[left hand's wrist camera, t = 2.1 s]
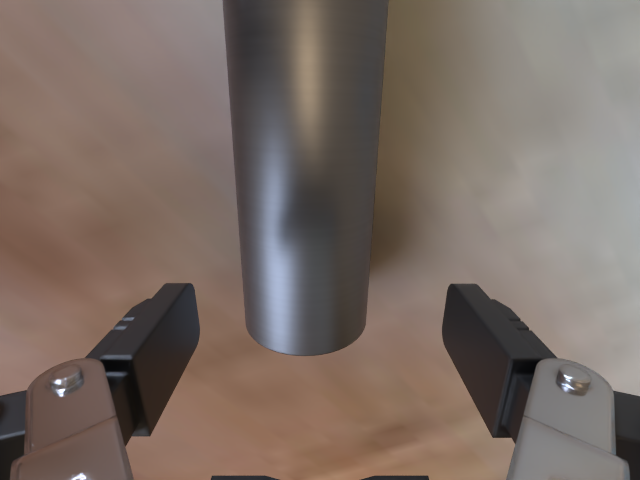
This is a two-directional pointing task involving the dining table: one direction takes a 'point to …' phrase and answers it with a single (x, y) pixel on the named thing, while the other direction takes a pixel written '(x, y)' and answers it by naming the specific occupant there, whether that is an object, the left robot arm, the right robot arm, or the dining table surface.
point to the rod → (305, 164)
